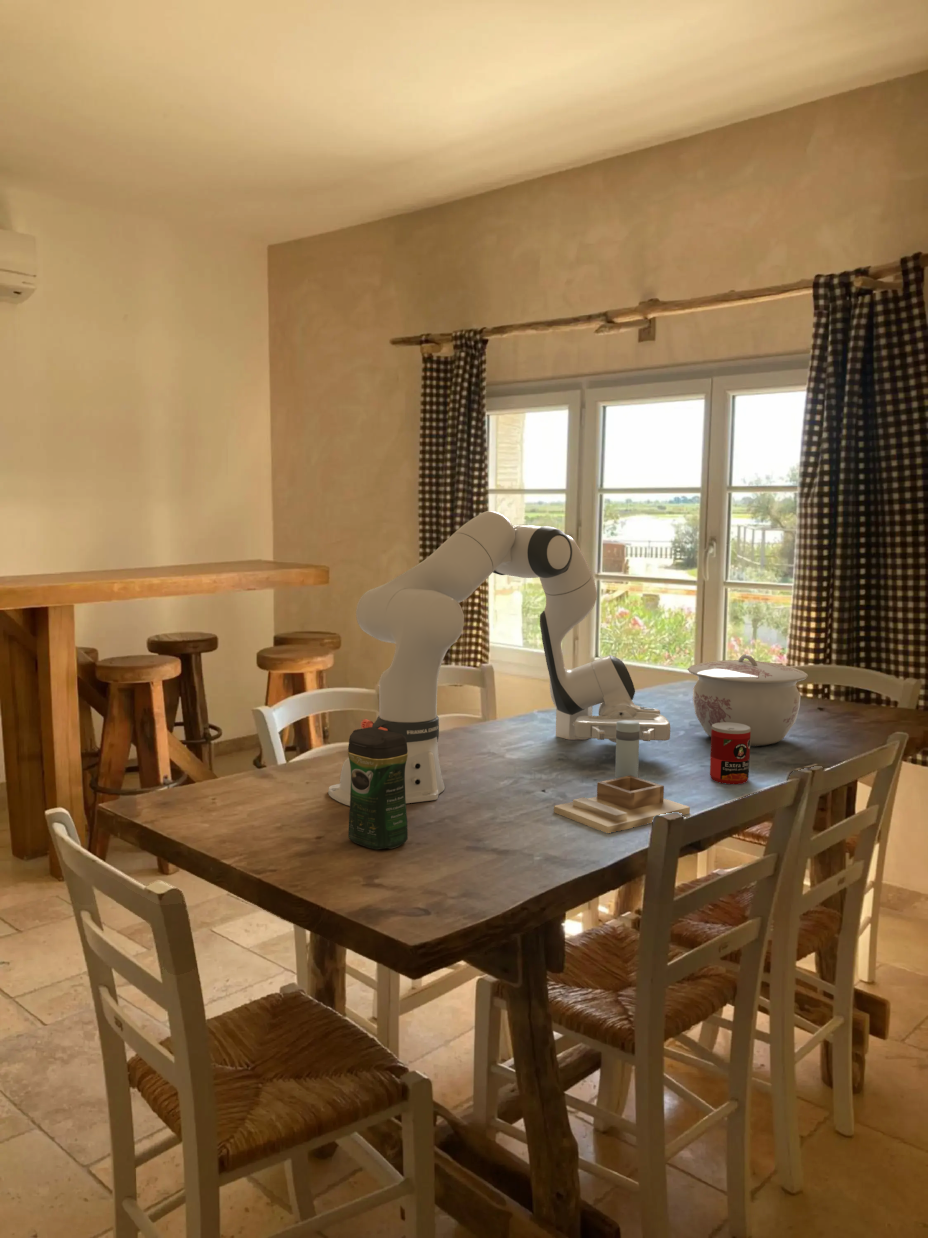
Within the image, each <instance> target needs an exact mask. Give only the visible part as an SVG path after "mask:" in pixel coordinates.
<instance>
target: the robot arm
mask: <svg viewBox="0 0 928 1238" xmlns="http://www.w3.org/2000/svg"><path fill="white" fill-rule="evenodd" d="M492 574H496V575H500V576H510V577H517V578H521V579H523V578H525V579H534V578H535V579H536V578H538V579H539V581H540V584H541V586H542V589H543V593H544V595H545V608H544V609H543V611H542V612H541V613H540V614H539V627H540V633H541V641H542V642H541V643H542V646H543V651H544V658H545V662H546V667H547V670H548V675H549V693H550V698H551V702H552V703H553V705H554V707H555V709H556V708H557V710H559V711H561V712H563V713H566V714H569V715H573V714H576V713H578V712H580V711H582V710H584V709H585V708H588V707H591V706H592V707H593V706H597V705H599V707H598V715H592V716H579V717H578V718H577V719H576V720H574V721H573V726H575V737H578V738H588V739H597V740H599V741H600V740H603V741H605V740H609V741H610V742H612V743H615V744H616V729H617V722H618V721H624V720H627V721H636V722H639V723H640V728H639V730H640V737H639V741H643V742H651V741H663V742H665V741H669V740H670V739H671V724H670V721H669V720H668V718H666V716H664V715H662V714H661V711H660V709H658V708H651V707H645V706H640V705H636V704H635V703H634V702H633V700H634V697H635V694H636V689H635V685H634V682H633V680H632V677H631V674H630V672H629V670H628V669H627V666H626V665H625V663H624V662H623V660H621V659H620V658H618V657H616V656H614V655H610V654H609V655H606V656H603V657H600V658H598V659H594V660H592V661H589V662H588V663H585V664H581V665H579V666H576V667H573V668H569V669H568V668H566V666H565V660H564V656H563V650H562V642H563V640H564V638H565V636H567V634H568V633H569V632H570V631H571V630H572V629H573V628H575V627H576V626H577V625H578V624H580V623H581V622H582V621H583V620H584V619H585V618H587V617H588V615H589V614H590V613H591V612H592V610H593V608H594V606H595V605H596V601H597V598H598V592H597V588H596V583H595V579H594V577H593V574H592V571H591V568H590V566H589V564H588V562H587V560H586V558H585V556H584V554H583V552H582V550H581V549H580V547H579V546H578V544H577V542H576V540H575V539H574V538H573V537H572V536H570V535H568V534H566V533H565V532H564V531H563V530H561V529H559V528H558V527H557V528H556V527H553V526H549V525H545V526H544V525H543V526H539V525H531V524H512V523H511V521H510V520H509V518H507V517H506V516H505V515H504V514H502V513H500V512H497V511H494V510H487V511H484V512H483V511H482V513H479V514H477V515H476V516H474V517H473V518H471V519H470V520H468V521H467V522H465V523H464V524H463V525H461V526H460V528H459V527H458V529H457V530H456V531H455V532H454V533H452V534H451V536H450V537H448V538H447V539H446V540H445V541H444V542H443V543H442V544H441V545H440V546H438V548H437V549H435V550H434V551H433V552H431V554H430V555H429V556H428V557H426V558H425V559H423V560H422V561H421V562H420V563H418V564H416V565H414V566H412V567H411V568H409V569H407V570H406V571H405V572H403V573H401V574H399V575H397V576H396V577H395V578H393V579H391V580H390V581H388V582H386V583H384V584H381V585H379V586H377V587H374V588H371V589H369V590H367V591H365V592H364V593H363V594H362V595H361V597H360V598H359V600H358V602H357V604H356V611H355V617H356V621H357V625H358V626H359V628H360V629H361V630H362V631H363V632H364V633H365V634H367V635H369V636H370V637H372V638H374V639H375V640H378V641H380V642H384V643H390V644H395V647H394V648H395V649H394V654H393V657H392V661H391V663H390V666H389V667H388V668H386V669H385V670H384V671H382V673H381V675H380V676H379V680H378V681H379V682H378V685H379V686H378V687H379V689H378V692H379V693H378V695H379V696H378V697H379V698H378V699H379V700H378V702H379V703H378V704H379V707H378V709H379V713H378V714H379V715H378V716H377V718H376V720H375V721H374V722H373V721H372V720H369V719H366V718H364V719H363V720H362V721H360V729H363V728H368V727H373V728H377V729H381V730H385V731H389V732H394V733H399V734H402V735H403V736H405V737H406V740H407V750H408V757H407V761H406V765H405V798H406V804H410V803H411V804H412V803H420V802H429V801H436V800H438V799H439V795H440V794H441V793H443V792H444V790H445V788H446V787H445V784H444V780H443V777H442V776H443V775H442V772H441V766H440V760H439V758H440V757H439V748H438V741H439V737H440V717H439V716H438V714H437V712H438V711H437V708H438V684H439V683H438V681H439V675H440V670H441V666H442V663H443V660H444V658H445V656H446V654H447V652H448V650H449V649H450V648H451V646H452V645H454V644H455V643H456V642H457V640H459V639H460V637H461V635H462V632H463V630H464V626H465V625H464V624H465V615H464V611H463V608H462V606H461V605H460V603H461V602H463V601H465V600H467V599H468V598H469V597H470V596H471V595H472V594H473V593H474V592H475V591H476V590H477V589H478V588H479V587H480V586H482V584H483V583H484V582H485V581H486V580H487V579H488V578H489V577H490V576H491V575H492ZM342 763H343V764H342V767H341V772H340V777H339V783H336V784H332V785H330V786H329V787H328V792H327V793H328V796H329V797H330V798H332V799H333V800H334V801H336V802H337V803H338V802H339V803H340V804H343V805H346V806H349V807H350V790H351V768H350V761H349V756H348V757H347V758H346V759H345V760H344V762H342Z"/></svg>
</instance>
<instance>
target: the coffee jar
mask: <svg viewBox="0 0 928 1238" xmlns="http://www.w3.org/2000/svg"><path fill="white" fill-rule="evenodd" d="M347 755H348V757H349V761H350V768H351V790H350V806H349V813H348V814H349V816H348V832H347V833H348V838H349V840H350V841H351V842H352V843H355V844H357V845H359V846H362V847H365V848H368V849H373V850H382V849H388V850H389V849H390V850H392V849H395V848H398V847H401V845H403V844H404V843H406V842H407V840H408V836H409V835H408V831H409V830H408V814H407V813H408V812H407V803H406V798H405V765H406V761H407V757H408V750H407V740H406V737H405V736H403V735H402V734H399V733H394V732H389V731H385V730H381V729H377V728H373V727H368V728H363V729H362V728H358V729H353V731H352V732H351V733H350V735H349V739H348V749H347Z"/></svg>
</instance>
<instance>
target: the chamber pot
mask: <svg viewBox="0 0 928 1238" xmlns="http://www.w3.org/2000/svg"><path fill="white" fill-rule="evenodd" d="M745 659H746V660H745ZM687 670H688V672H689V673H690V674H691V675H693V676H694V675H695V676H696V677H697V681H696V683H695V684H694V686H693V687H692V702H693V708H694V709H693V710H694V714H695V716H696V718H697V719H698V721H699V723H700V725H701V728H703V730H704V732H705V734H706V735H707V736H708V737H710V738H711V728H712V725H713V724H715V723H720V722H731V723H740V724H744V725H747V726H749V727H750V730H751V737H750V747H764V746H765V747H766V746H768V745H772V744H776V743H779V742H781V741H782V740H783V739H784V738H785V737H786V736H787V735H788V733H789V731H790V730H791V729H792V727H793V725H794V724H795V723H796V722H797V717H798V714H799V710H800V706H801V693H800V691H799V689H798V687H797V685H796V684H797V683H798V682H801V681H804V680H806V679H807V678H808V677H809V674H808V673H806V672H805V671H803V670H801V669H798V668H795V667H792V666H789V665H785V664H781V663H773V662H768V661H759V660H758V661H757V660H755V658H753V656H752V655H749V654H748V653H745V654H743V655H741V656H740V657H739V658H738V659H729V660H728V659H725V660H724V659H723V660H715V661H714V660H713V661H705V662H699V663H696V664H692V665H691V666H689V667H688V668H687Z"/></svg>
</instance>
